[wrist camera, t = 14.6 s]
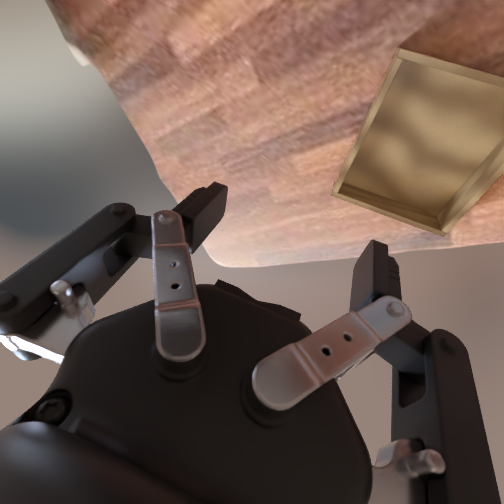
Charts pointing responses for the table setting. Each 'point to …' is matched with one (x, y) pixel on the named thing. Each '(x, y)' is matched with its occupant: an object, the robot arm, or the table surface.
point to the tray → (426, 143)
